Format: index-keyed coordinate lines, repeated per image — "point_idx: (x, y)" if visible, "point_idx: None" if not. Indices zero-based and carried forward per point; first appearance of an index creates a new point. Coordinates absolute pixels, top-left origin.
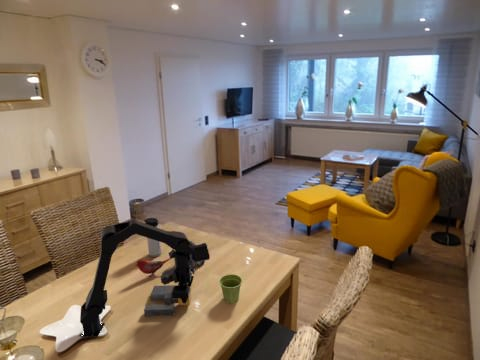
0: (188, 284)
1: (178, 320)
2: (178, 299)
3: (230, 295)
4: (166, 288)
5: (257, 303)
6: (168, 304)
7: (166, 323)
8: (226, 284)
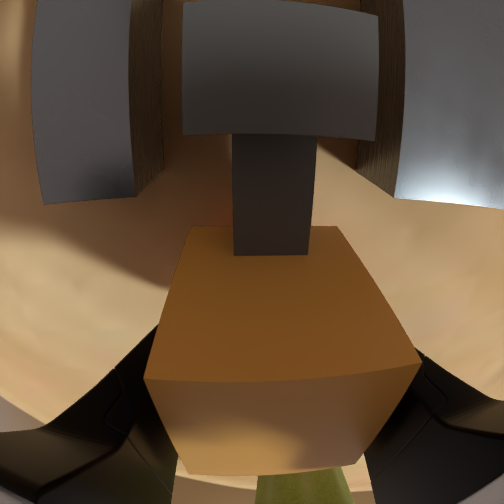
0: (384, 466)
1: (51, 238)
2: (175, 280)
3: (255, 502)
4: (500, 51)
5: (255, 489)
6: (126, 108)
7: (9, 147)
8: (348, 493)
